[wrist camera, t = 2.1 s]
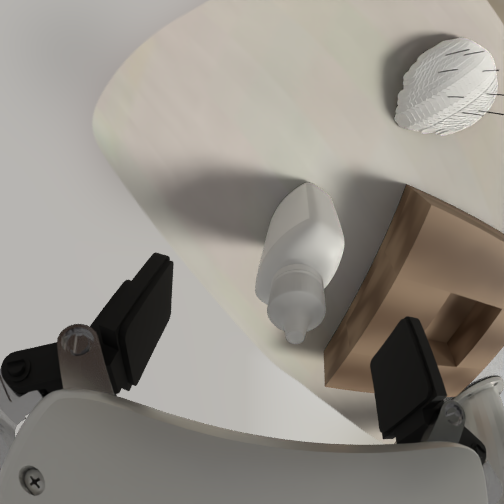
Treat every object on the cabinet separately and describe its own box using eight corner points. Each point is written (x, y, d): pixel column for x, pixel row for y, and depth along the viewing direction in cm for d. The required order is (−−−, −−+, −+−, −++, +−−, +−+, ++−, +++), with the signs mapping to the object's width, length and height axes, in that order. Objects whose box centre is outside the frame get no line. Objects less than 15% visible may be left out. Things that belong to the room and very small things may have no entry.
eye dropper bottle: (251, 207, 21) (201, 318, 10) (320, 174, 19) (348, 264, 8) (278, 254, 22) (258, 382, 12) (344, 226, 20) (380, 349, 10)
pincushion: (466, 24, 10) (505, 12, 5) (505, 88, 12) (548, 92, 7) (368, 87, 15) (396, 79, 10) (417, 156, 17) (454, 175, 12)
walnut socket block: (446, 369, 26) (455, 396, 22) (323, 351, 27) (324, 386, 23) (528, 250, 17) (551, 273, 13) (406, 184, 18) (431, 204, 14)
